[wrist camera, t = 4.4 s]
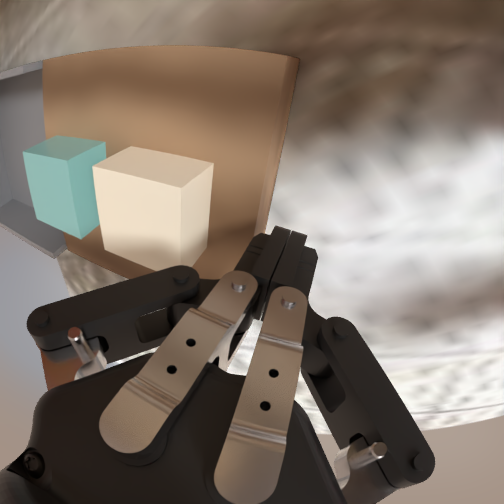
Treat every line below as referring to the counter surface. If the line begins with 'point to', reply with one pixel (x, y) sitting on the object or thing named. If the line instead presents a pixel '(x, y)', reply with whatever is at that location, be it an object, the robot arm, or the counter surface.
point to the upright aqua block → (65, 182)
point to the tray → (12, 161)
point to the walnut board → (181, 129)
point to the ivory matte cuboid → (154, 206)
